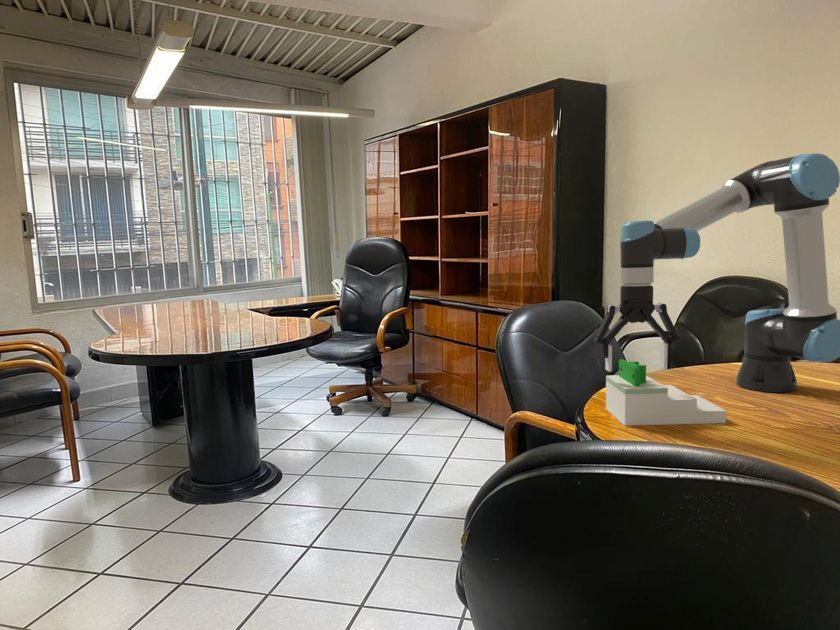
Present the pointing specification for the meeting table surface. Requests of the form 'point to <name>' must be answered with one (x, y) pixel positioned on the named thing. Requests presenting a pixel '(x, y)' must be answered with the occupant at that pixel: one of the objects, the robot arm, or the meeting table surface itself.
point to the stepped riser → (657, 404)
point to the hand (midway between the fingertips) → (635, 369)
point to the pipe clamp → (632, 372)
